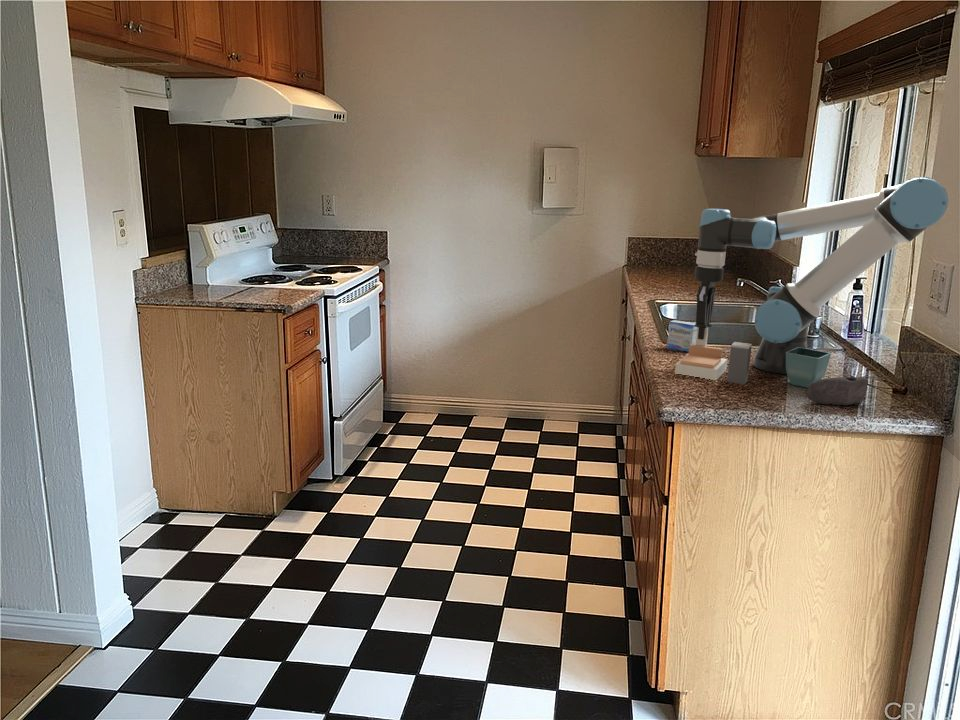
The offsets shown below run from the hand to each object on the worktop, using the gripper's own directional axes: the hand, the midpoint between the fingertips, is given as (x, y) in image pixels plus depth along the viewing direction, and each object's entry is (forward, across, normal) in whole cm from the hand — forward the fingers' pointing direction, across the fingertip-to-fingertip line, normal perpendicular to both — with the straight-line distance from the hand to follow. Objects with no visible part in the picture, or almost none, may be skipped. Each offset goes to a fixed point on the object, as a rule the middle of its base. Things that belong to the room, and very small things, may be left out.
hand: (700, 349), depth 226 cm
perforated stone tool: (+5, +16, +38) cm, 41 cm away
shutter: (+2, +6, +2) cm, 7 cm away
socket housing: (+5, +5, +2) cm, 7 cm away
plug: (+5, +9, +12) cm, 16 cm away
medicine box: (+5, -19, -10) cm, 22 cm away
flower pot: (+5, +2, +28) cm, 29 cm away
